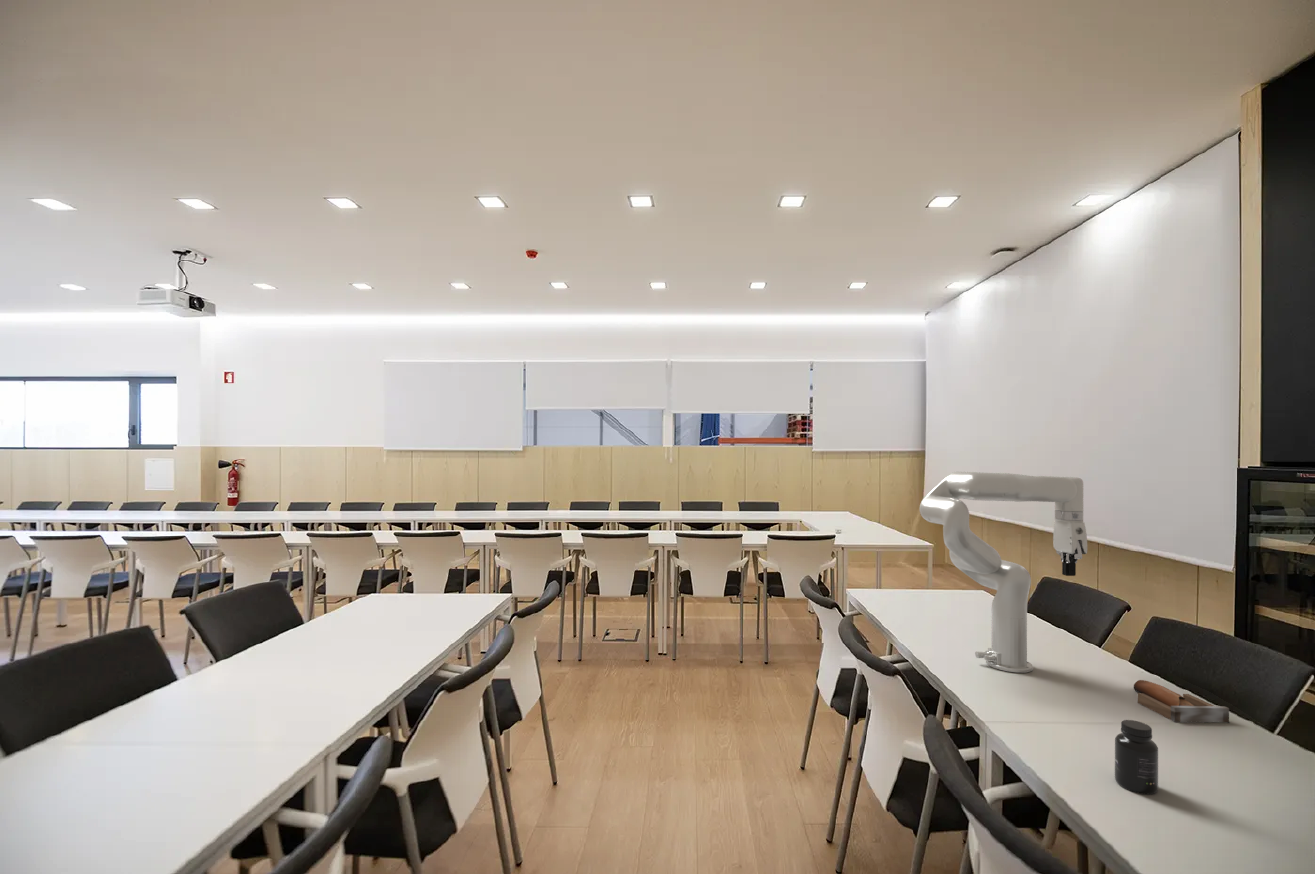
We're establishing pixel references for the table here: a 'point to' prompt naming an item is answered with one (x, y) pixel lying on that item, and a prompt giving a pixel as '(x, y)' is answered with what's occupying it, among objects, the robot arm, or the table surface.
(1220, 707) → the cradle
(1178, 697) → the sunglasses case
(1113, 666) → the table surface
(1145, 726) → the supplement bottle
